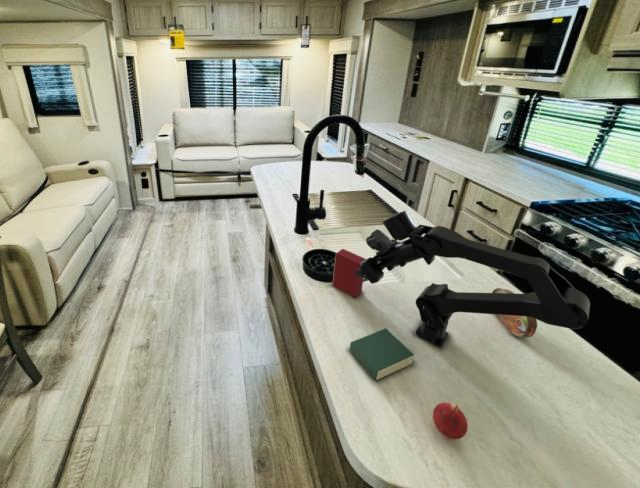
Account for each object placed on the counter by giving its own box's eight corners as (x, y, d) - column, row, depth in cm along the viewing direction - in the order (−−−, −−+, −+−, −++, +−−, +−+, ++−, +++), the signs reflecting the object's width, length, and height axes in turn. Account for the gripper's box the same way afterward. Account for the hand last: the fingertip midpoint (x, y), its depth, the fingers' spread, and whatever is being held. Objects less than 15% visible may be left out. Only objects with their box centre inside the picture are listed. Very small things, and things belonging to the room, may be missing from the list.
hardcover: (384, 336, 86) (385, 328, 85) (412, 363, 78) (414, 355, 77) (349, 350, 82) (350, 342, 81) (375, 381, 74) (377, 372, 73)
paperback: (361, 292, 103) (366, 259, 98) (355, 298, 100) (360, 264, 95) (338, 280, 109) (342, 248, 104) (332, 285, 106) (335, 252, 101)
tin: (486, 303, 97) (494, 281, 93) (498, 304, 96) (506, 282, 93) (519, 343, 83) (529, 319, 80) (532, 345, 82) (543, 320, 79)
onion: (463, 454, 60) (473, 428, 57) (428, 437, 63) (437, 411, 60) (461, 426, 64) (471, 400, 61) (429, 412, 67) (437, 386, 64)
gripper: (401, 216, 93) (362, 234, 105) (371, 238, 82) (331, 256, 94) (424, 249, 91) (381, 264, 103) (396, 277, 79) (352, 290, 91)
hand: (362, 267), depth 98 cm, fingers open, 9 cm apart
